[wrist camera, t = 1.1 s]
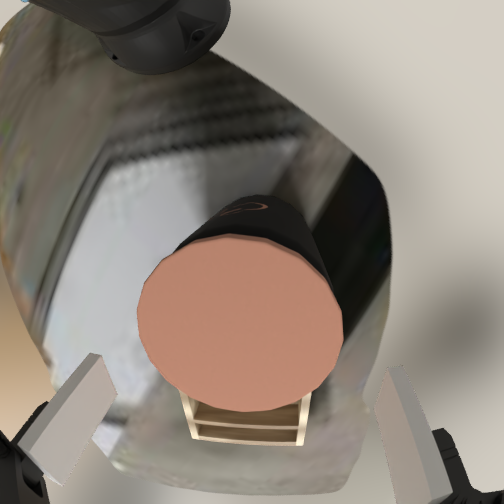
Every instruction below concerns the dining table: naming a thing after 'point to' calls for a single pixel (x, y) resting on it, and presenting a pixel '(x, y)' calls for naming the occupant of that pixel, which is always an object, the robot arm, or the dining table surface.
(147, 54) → the robot arm
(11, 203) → the dining table surface
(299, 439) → the walled box
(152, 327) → the coffee jar
